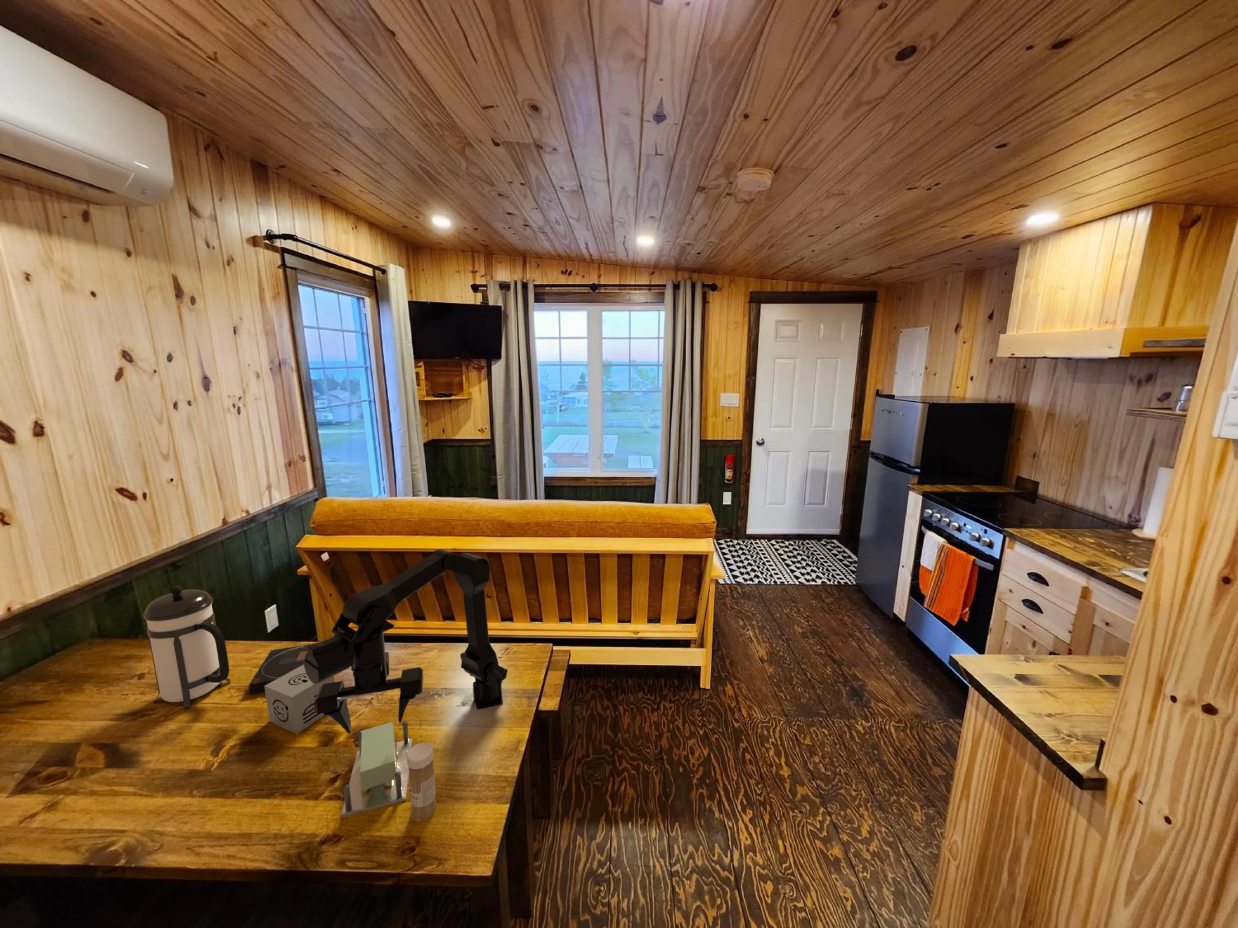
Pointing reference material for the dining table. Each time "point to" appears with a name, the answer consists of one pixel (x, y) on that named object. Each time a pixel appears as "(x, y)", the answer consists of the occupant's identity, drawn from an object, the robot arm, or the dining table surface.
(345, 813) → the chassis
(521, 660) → the dining table surface
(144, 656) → the dining table surface
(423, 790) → the sprinkles bottle
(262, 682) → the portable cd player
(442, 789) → the dining table surface
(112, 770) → the dining table surface
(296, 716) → the icon cube
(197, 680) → the coffee press
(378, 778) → the board
